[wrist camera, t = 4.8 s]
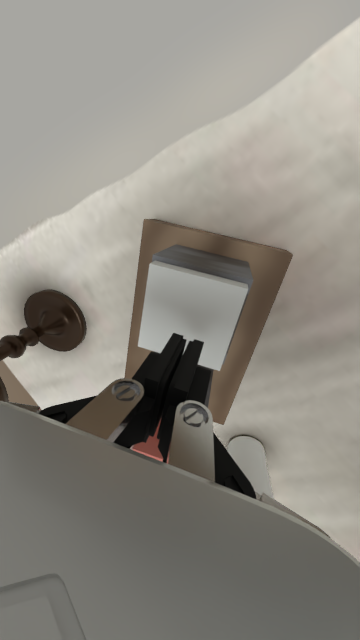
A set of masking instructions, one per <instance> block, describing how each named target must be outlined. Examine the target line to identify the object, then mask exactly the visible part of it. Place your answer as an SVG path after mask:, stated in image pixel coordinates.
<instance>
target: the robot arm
mask: <svg viewBox="0 0 360 640" xmlns="http://www.w3.org/2000/svg"><path fill="white" fill-rule="evenodd" d="M185 344H186V339H183V335H179V334H176V333H173V334H172V336H171V337H170V339H169V341H168V342H167V344H166V345H165V347H164V349H163V350H162V352H161V353H160V354H159V353H156V352H153V351H151V352H150V353H149V355H148V356H147V358H146V359H145V360H144V362H143V363H142V365H141V366H140V368H139V369H138V370H137V372H136V373H135V375H134V376H133V377H132V379H128V378H123V379H118V380H115V381H114V382H112V383H111V384H110V385H109V386H108V387H106V388H105V389H104V390H103V391H102V392H101V393H100V394H99V395H97V396H94V397H89V398H85V399H81V400H76V401H72V402H68V403H64V404H59V405H55V406H51V407H48V408H46V409H44V410H40V407H39V406H31V405H25V404H18V403H12V402H5V401H0V640H360V562H359V561H358V560H357V559H356V558H355V557H353V556H352V555H351V554H350V553H348V552H347V551H346V550H345V549H343V548H342V547H341V546H340V545H338V544H337V543H336V542H335V541H333V540H332V539H331V538H330V537H329V536H328V535H327V534H326V533H325V532H324V531H322V530H321V529H320V528H319V527H317V526H315V525H314V524H312V523H311V522H309V521H307V520H306V519H304V518H303V517H301V516H300V515H298V514H296V513H295V512H293V511H292V510H290V509H288V508H287V507H285V506H284V505H282V504H280V503H279V502H277V501H276V500H274V499H273V498H271V497H269V496H268V495H266V494H265V493H262V495H260V494H258V493H257V492H255V491H254V488H253V486H252V485H251V483H250V481H249V480H248V479H247V477H246V476H245V474H244V473H243V472H242V470H241V469H240V468H239V466H238V465H237V464H236V462H235V461H234V460H233V458H232V457H231V456H230V454H229V453H228V452H227V450H226V449H225V447H224V446H223V445H222V443H221V442H220V441H219V439H218V438H217V437H216V435H215V434H214V433H213V418H212V414H211V412H210V410H209V409H208V408H207V407H206V406H205V400H206V395H207V390H208V386H209V381H210V376H211V370H209V369H205V368H202V367H199V366H197V365H198V362H199V358H200V355H201V351H202V348H203V345H204V342H202V341H199V340H196V339H194V341H189V343H188V345H187V347H186V349H185V352H184V348H185ZM183 352H184V354H183ZM160 420H161V422H160ZM159 422H160V426H159V430H158V434H157V439H159V443H158V449H159V451H160V453H161V455H162V457H163V460H162V462H161V461H159V460H156V459H154V458H151V457H149V456H146V455H144V454H141V453H138V452H136V451H133V449H134V446H135V444H138V443H141V442H144V443H146V442H147V439H148V437H149V436H152V437H153V436H154V434H155V432H156V429H157V427H158V425H159Z"/></svg>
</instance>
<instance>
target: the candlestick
mask: <svg viewBox="0 0 360 640" xmlns="http://www.w3.org/2000/svg"><path fill="white" fill-rule="evenodd" d="M24 316H25V320H26V323H27V326H28V327H26V328H23V329H21V330H20V333H19V335H18V336H17V335H7V336H4V337H2V338H1V340H0V361H1V360H3V359H4V358H6V357H8V356H9V357H11V358H19V357H20V356H22V355H23V353H24V352H25V350H26V346H27V345H28V346H35V345H36V344H38V342H39V341H40V342H41V343H42V344H43V345H45V346H47V347H48V348H51V349H53V350H57V351H70V350H72V349H74V348H75V347H77V346H78V345H79V344H80V343H82V341H83V340H84V338H85V335H86V322H85V318H84V316H83V314H82V311H81V310H80V308H79V307H78V306H77V304H76V303H75V302H74V301H73V300H72V299H70V298H69V297H68V296H66V295H65V294H63V293H61V292H58V291H54V290H43V291H40V292H37V293H35V294H33V295H31V296H30V297H29V298H28V300H27V301H26V304H25V308H24ZM0 401H5V402H9V400H8V394H7V391H6V388H5V385H4V383H3V381H2V379H1V377H0Z"/></svg>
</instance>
